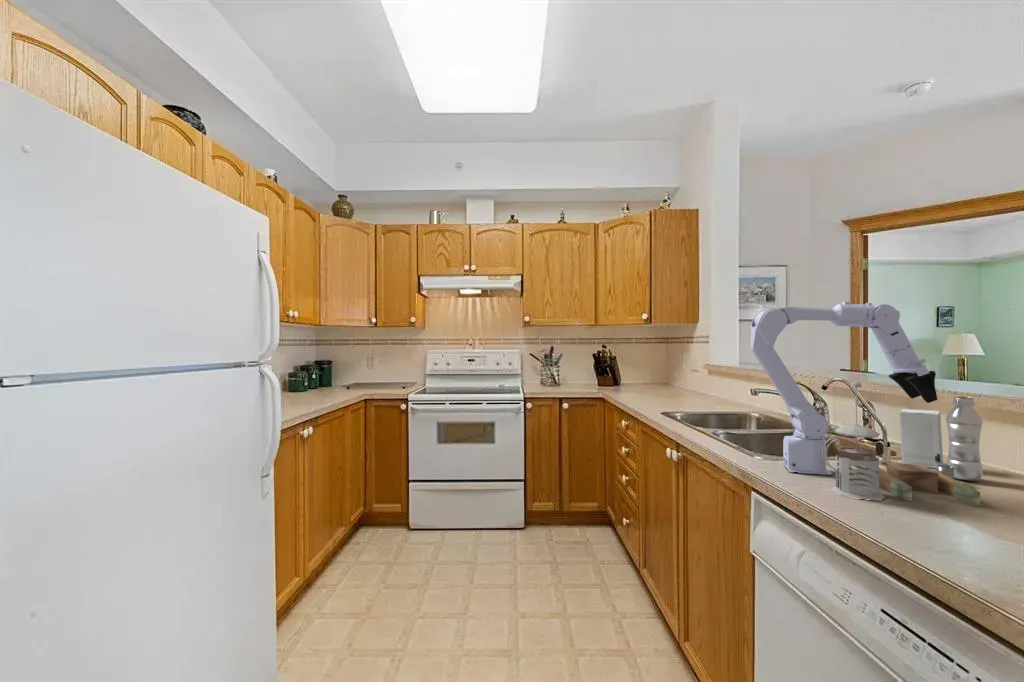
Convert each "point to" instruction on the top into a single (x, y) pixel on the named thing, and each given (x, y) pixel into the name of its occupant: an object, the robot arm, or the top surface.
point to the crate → (915, 476)
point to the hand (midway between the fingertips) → (923, 399)
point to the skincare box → (921, 437)
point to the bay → (944, 484)
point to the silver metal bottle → (964, 439)
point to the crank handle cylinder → (944, 467)
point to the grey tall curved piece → (856, 463)
